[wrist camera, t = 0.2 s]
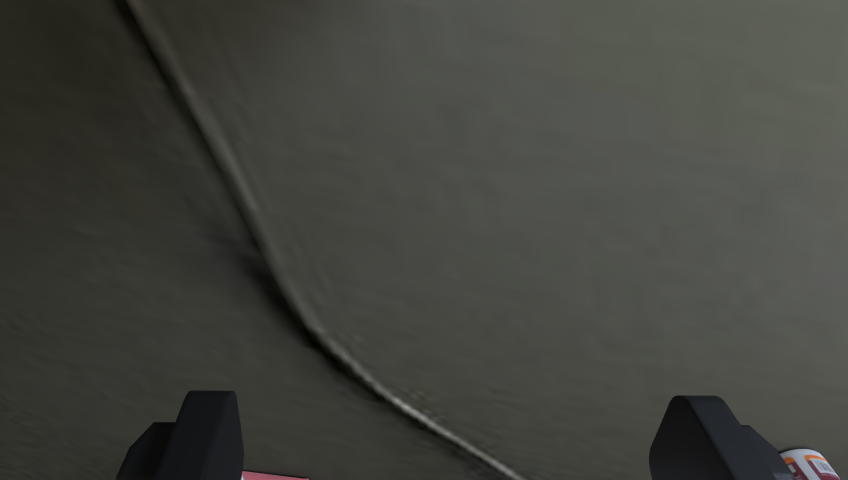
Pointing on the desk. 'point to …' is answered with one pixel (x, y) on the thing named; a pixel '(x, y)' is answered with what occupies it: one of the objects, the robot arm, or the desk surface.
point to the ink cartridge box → (265, 476)
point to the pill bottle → (808, 465)
